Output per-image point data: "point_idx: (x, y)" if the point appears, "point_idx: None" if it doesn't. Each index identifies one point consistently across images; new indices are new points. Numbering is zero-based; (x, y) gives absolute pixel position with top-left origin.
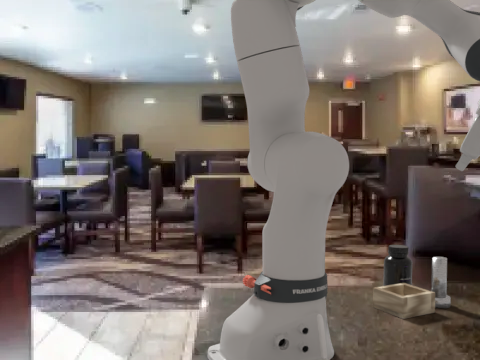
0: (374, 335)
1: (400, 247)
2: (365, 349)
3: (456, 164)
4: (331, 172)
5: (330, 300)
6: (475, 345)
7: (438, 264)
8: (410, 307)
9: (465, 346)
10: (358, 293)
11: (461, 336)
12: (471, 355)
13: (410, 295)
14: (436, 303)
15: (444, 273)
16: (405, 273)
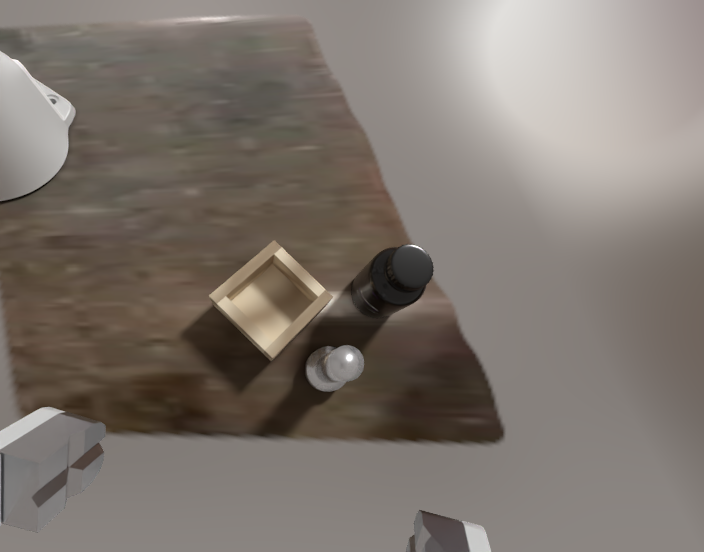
0: (104, 260)
1: (398, 270)
2: (24, 248)
3: (28, 415)
4: None
5: (293, 185)
6: None
7: (327, 361)
8: (225, 314)
9: None
10: (353, 228)
11: (130, 408)
12: None
13: (233, 309)
14: (306, 364)
15: (327, 376)
16: (369, 296)
